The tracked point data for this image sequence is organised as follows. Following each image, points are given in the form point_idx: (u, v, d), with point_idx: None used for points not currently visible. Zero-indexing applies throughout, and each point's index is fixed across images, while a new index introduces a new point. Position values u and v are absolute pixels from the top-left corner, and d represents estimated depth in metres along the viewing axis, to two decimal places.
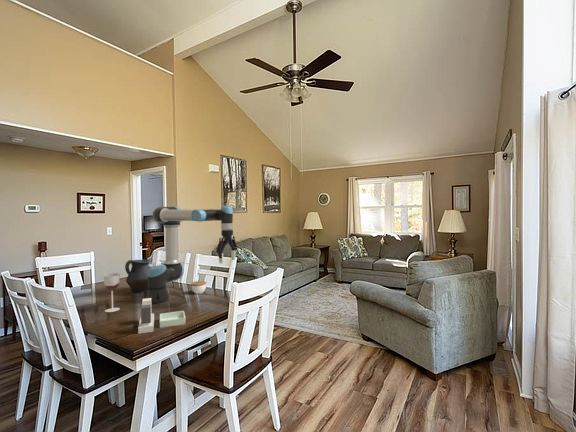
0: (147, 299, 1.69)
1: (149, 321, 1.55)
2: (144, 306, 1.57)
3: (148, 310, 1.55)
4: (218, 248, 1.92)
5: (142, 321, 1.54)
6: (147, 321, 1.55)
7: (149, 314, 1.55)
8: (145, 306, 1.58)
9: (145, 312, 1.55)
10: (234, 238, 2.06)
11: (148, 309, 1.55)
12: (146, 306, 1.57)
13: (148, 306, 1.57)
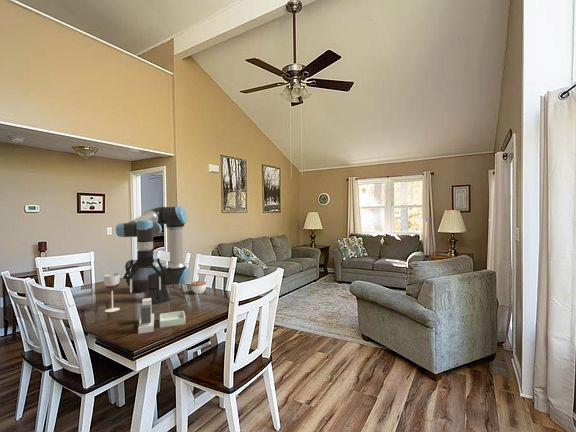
0: (147, 299, 1.69)
1: (149, 321, 1.55)
2: (144, 306, 1.57)
3: (148, 310, 1.55)
4: (125, 273, 1.53)
5: (142, 321, 1.54)
6: (147, 321, 1.55)
7: (149, 314, 1.55)
8: (145, 306, 1.58)
9: (145, 312, 1.55)
10: (159, 261, 1.58)
11: (148, 309, 1.55)
12: (146, 306, 1.57)
13: (148, 306, 1.57)
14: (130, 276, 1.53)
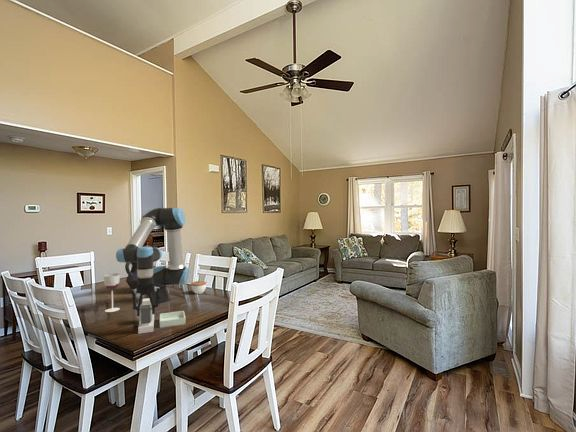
0: (147, 299, 1.69)
1: (149, 321, 1.56)
2: (144, 306, 1.57)
3: (148, 310, 1.55)
4: (133, 304, 1.55)
5: (142, 321, 1.54)
6: (147, 321, 1.55)
7: (149, 314, 1.55)
8: (145, 306, 1.58)
9: (145, 312, 1.55)
10: (158, 291, 1.58)
11: (148, 309, 1.55)
12: (146, 306, 1.57)
13: (148, 306, 1.57)
14: (138, 306, 1.55)
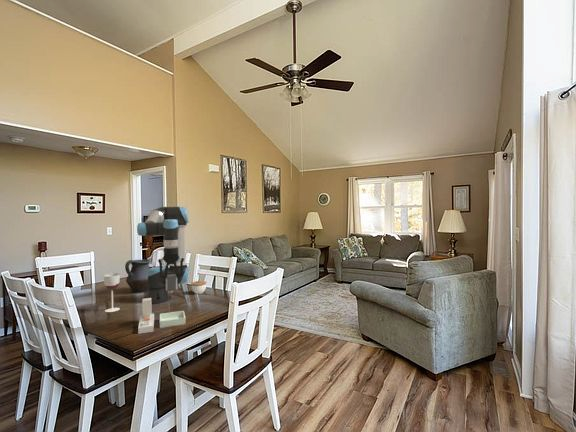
0: (147, 299, 1.69)
1: (174, 289, 1.66)
2: (170, 275, 1.68)
3: (174, 278, 1.66)
4: (159, 272, 1.65)
5: (168, 288, 1.65)
6: (173, 289, 1.66)
7: (174, 282, 1.66)
8: (170, 275, 1.68)
9: (171, 280, 1.65)
10: (182, 261, 1.69)
11: (174, 277, 1.66)
12: (171, 275, 1.67)
13: (173, 275, 1.67)
14: (165, 274, 1.65)
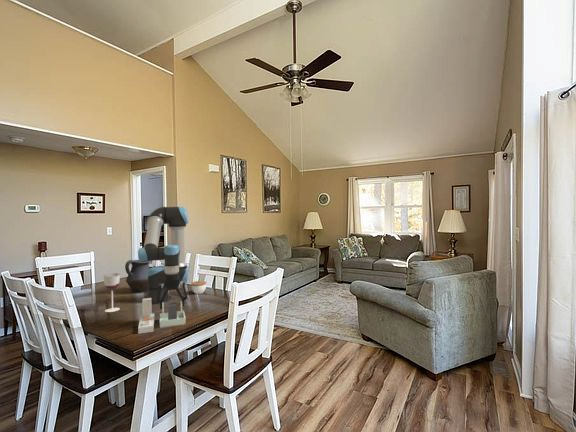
0: (147, 299, 1.69)
1: (175, 318, 1.67)
2: (170, 304, 1.68)
3: (175, 308, 1.66)
4: (157, 297, 1.65)
5: (169, 318, 1.65)
6: (174, 318, 1.66)
7: (175, 311, 1.67)
8: (171, 303, 1.69)
9: (172, 310, 1.66)
10: (184, 285, 1.69)
11: (175, 307, 1.66)
12: (172, 304, 1.68)
13: (174, 304, 1.68)
14: (162, 300, 1.65)
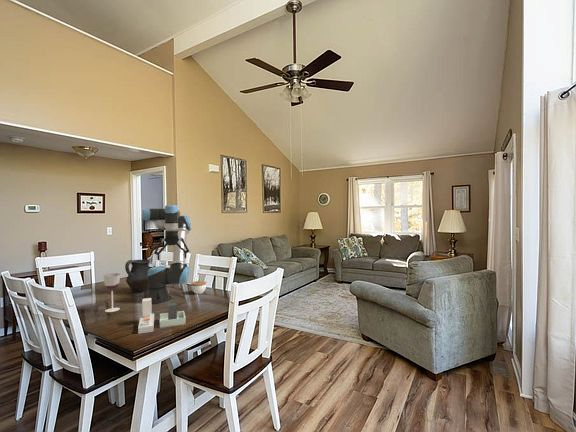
0: (147, 299, 1.69)
1: (175, 318, 1.67)
2: (170, 304, 1.68)
3: (175, 308, 1.66)
4: None
5: (169, 318, 1.65)
6: (174, 318, 1.66)
7: (175, 311, 1.67)
8: (171, 303, 1.69)
9: (172, 310, 1.66)
10: (183, 240, 1.88)
11: (175, 307, 1.66)
12: (172, 304, 1.68)
13: (174, 304, 1.68)
14: (159, 252, 1.83)
